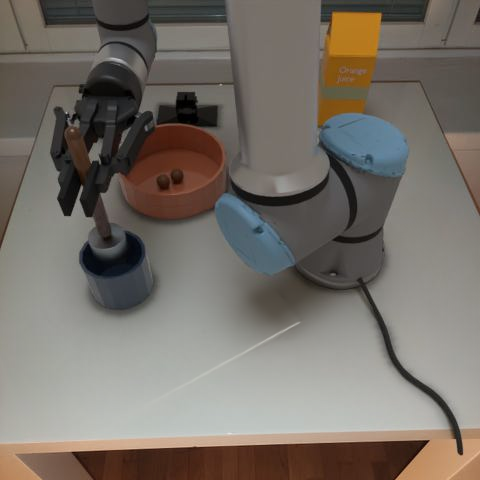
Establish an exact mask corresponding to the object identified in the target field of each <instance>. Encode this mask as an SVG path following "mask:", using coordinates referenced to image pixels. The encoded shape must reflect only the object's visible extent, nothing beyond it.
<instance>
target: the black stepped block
mask: <svg viewBox="0 0 480 480" xmlns="http://www.w3.org/2000/svg"><path fill="white" fill-rule="evenodd" d="M198 103H199V100H198V96H196V91H177V92H176V98H175V104H159V105H158V111H157V117H156V125H162V124H187V125H193V126H196V127H199V128H217V127H218V108H219V106H218V105H217V104H198ZM156 125H155V126H156Z"/></svg>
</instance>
